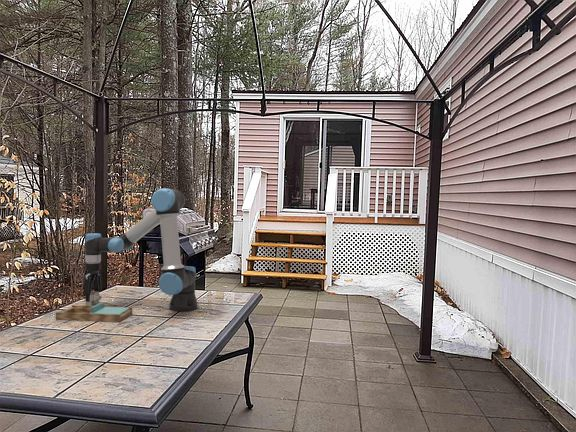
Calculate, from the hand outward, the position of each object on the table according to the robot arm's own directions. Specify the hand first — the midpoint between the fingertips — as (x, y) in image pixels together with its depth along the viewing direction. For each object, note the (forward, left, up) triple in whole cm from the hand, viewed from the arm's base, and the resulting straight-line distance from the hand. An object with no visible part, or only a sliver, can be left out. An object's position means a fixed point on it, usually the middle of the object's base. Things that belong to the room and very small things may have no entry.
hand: (92, 305), depth 220 cm
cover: (-17, +17, +1) cm, 24 cm away
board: (-10, +17, -1) cm, 20 cm away
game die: (0, 0, -1) cm, 1 cm away
